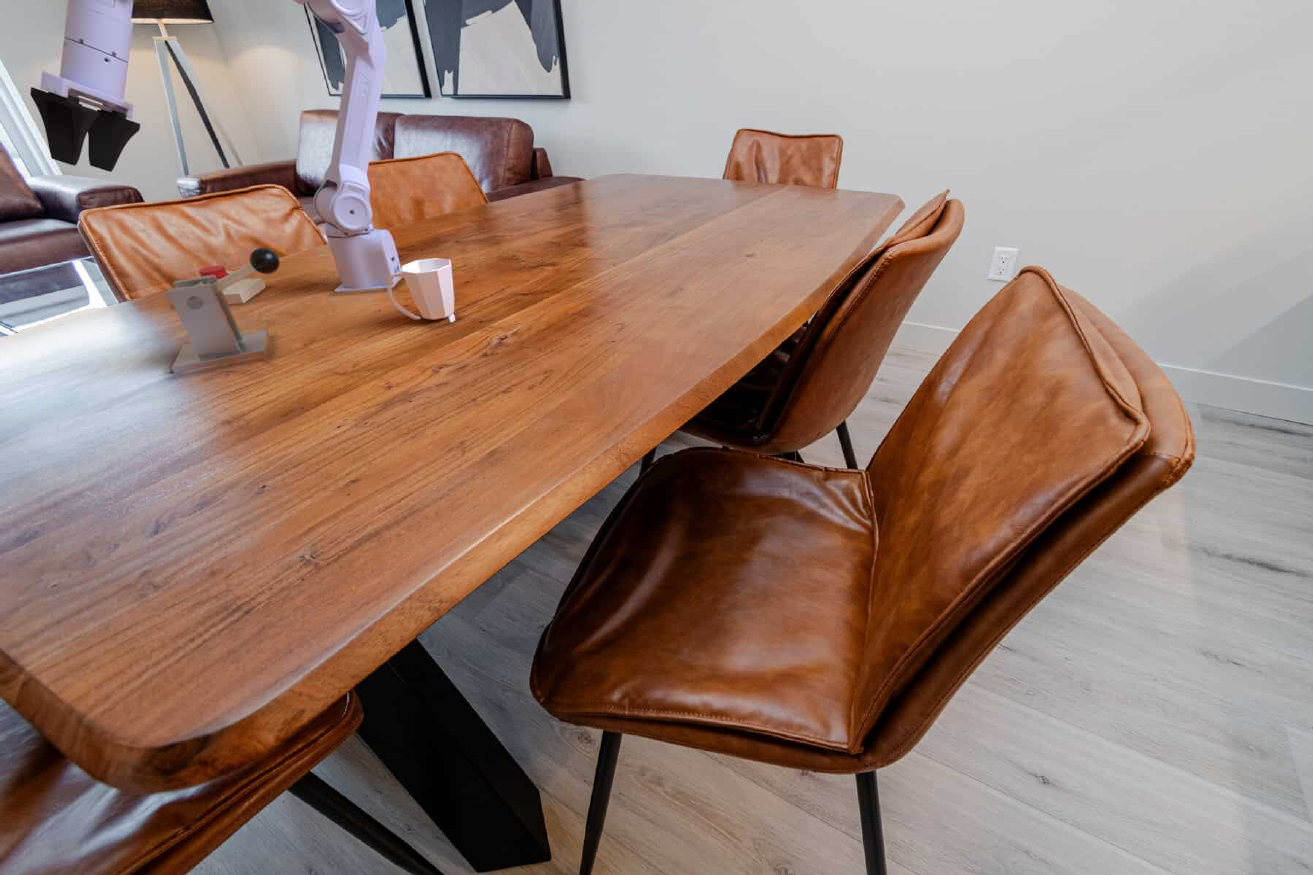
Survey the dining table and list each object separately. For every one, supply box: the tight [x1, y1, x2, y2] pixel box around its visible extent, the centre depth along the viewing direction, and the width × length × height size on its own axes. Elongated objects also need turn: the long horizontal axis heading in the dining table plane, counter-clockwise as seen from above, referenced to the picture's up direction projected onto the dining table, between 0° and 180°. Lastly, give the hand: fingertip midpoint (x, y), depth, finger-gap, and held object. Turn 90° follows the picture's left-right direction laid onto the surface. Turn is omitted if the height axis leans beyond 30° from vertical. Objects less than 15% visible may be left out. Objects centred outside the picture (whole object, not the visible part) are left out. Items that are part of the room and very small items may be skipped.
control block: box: [198, 270, 266, 305], centre depth 99 cm, size 10×8×4 cm
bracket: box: [166, 275, 270, 374], centre depth 76 cm, size 10×8×10 cm
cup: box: [386, 257, 456, 323], centre depth 84 cm, size 7×10×8 cm
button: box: [198, 265, 228, 280], centre depth 98 cm, size 4×4×2 cm
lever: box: [194, 247, 281, 294], centre depth 75 cm, size 12×3×3 cm, turn 116°
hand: (83, 165), depth 75 cm, fingers open, 7 cm apart
